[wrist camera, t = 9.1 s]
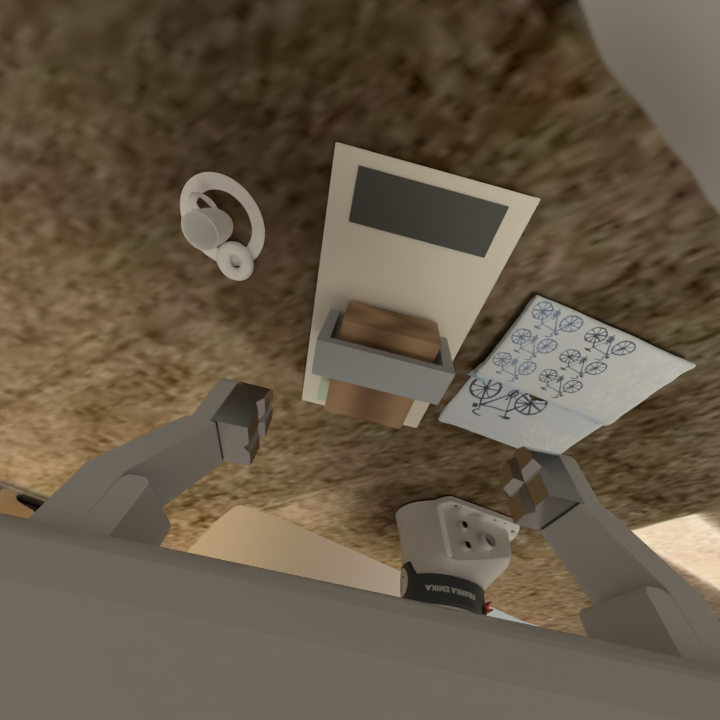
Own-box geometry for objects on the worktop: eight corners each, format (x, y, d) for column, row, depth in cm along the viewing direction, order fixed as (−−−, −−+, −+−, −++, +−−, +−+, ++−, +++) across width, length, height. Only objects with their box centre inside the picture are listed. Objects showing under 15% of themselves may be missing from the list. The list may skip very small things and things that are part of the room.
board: (535, 197, 22) (541, 199, 21) (416, 422, 39) (416, 428, 38) (338, 142, 22) (335, 141, 21) (303, 394, 39) (301, 400, 38)
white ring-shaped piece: (262, 282, 30) (245, 298, 26) (187, 257, 29) (160, 270, 26) (270, 190, 24) (250, 196, 21) (179, 157, 24) (144, 158, 21)
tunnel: (446, 338, 29) (455, 374, 25) (432, 367, 32) (437, 405, 27) (330, 308, 29) (316, 339, 24) (325, 339, 31) (311, 373, 27)
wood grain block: (437, 323, 28) (441, 345, 25) (400, 403, 35) (400, 429, 32) (349, 300, 28) (342, 319, 25) (331, 386, 35) (323, 410, 32)
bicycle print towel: (689, 357, 29) (707, 370, 27) (543, 458, 41) (549, 471, 39) (533, 285, 27) (542, 294, 25) (426, 414, 39) (427, 426, 37)
